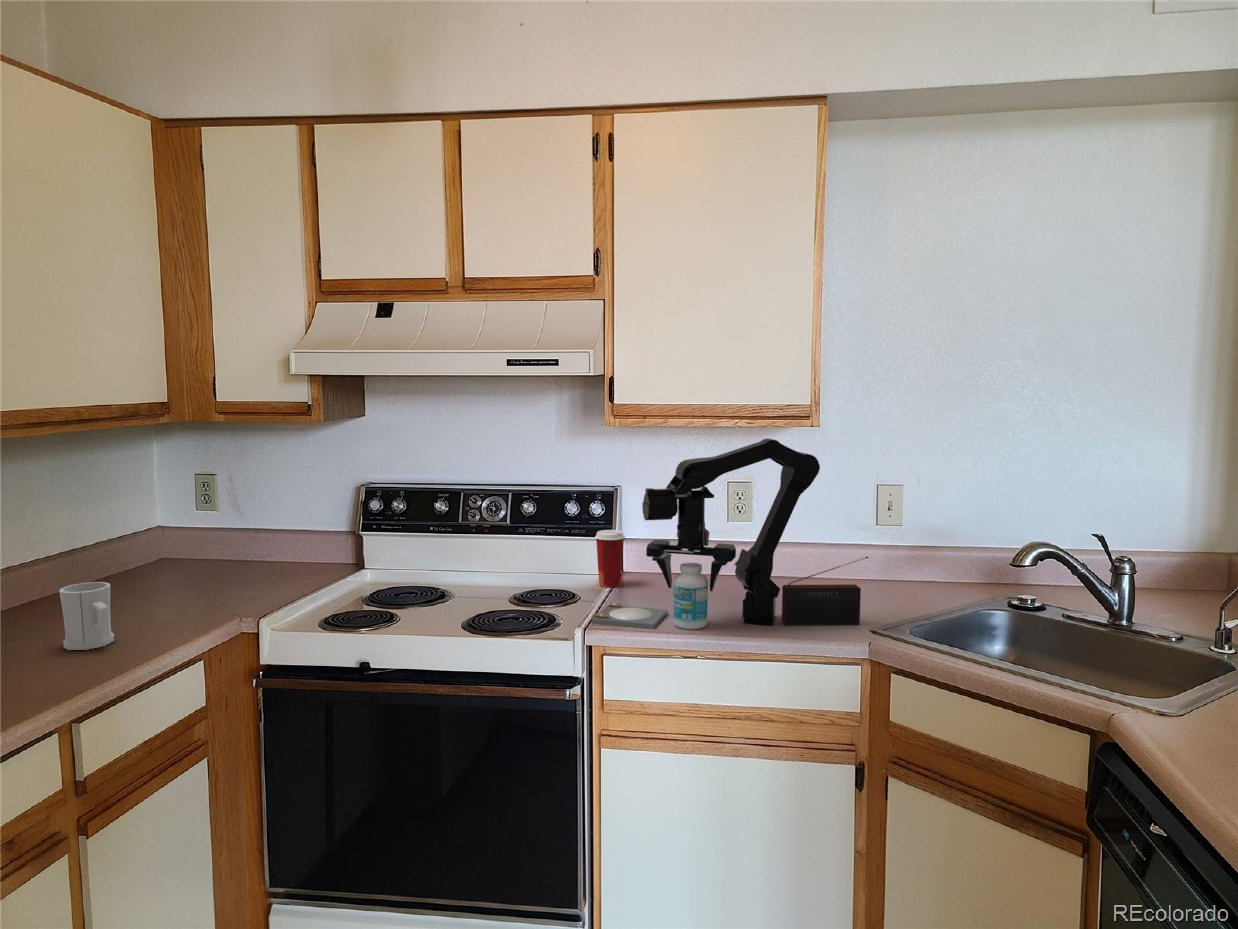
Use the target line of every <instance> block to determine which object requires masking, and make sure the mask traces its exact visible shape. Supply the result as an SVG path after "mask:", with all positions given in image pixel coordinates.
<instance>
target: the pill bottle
mask: <svg viewBox="0 0 1238 929" xmlns="http://www.w3.org/2000/svg"><path fill="white" fill-rule="evenodd" d="M679 570H680V572H679V573H678V574H677V575H675V577H673V578H674V579H673V608H672V609H673V610H672V612H673V616H672V617H673V619H672V621H673V625H675V626H676V628H679V629H683V630H699V629H704V627H706V626H707V624H708V599H709V598H708V595H709V594H708V593H709V591H708V590H709V580H708V578H707V576H706V575H704V574H703V573H702V572H703V571H702V570H703V565H702V564H701V563H698V562H684V563H681V564H680V566H679Z"/></svg>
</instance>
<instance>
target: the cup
mask: <svg viewBox="0 0 1238 929" xmlns="http://www.w3.org/2000/svg"><path fill="white" fill-rule="evenodd" d="M58 592H59V598H60V603H61V609H62V616H63V622H64V623H63V625H64V635H65V639H63V641H62V643H63V644H62V645H63V648H64V649H66V650H68V651H71V650H85V651H90V650H89V649H92V650H95V649H94V648H97V649H100V648H99V647H101V648H104V647H107V646H109V645H111V642H112V643H113V642H114V641H115V635H114V632H112V627H111V626H112V624H111V584H110V583H109V582H102V581H92V582H91V581H90V582H81V583H75V584H71V585H66V586H64V587H62V588H60V589H59V591H58ZM108 644H109V645H108ZM106 645H107V646H106ZM103 646H104V647H103Z"/></svg>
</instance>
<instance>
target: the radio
mask: <svg viewBox="0 0 1238 929" xmlns="http://www.w3.org/2000/svg"><path fill="white" fill-rule="evenodd" d="M868 558H869V556H865V557H863V558H859V559H856V560H854V561H851V562H848V563H845V564H842V565H839V566H836V567H833V568H829V569H827V570H824V571H821V572H818V573H815V574H811V575H809V576H805V577H803V578H800V579H797V580H793V581H791V582H788V584H783V585H782V587H781V590H782V592H781V593H782V594H781V623H782V624H783V626H785V627H812V626H813V627H815V626H819V627H822V626H823V627H824V626H826V627H827V626H829V627H830V626H841V627H842V626H860V623H861V621H860V620H861V598H862V597H861V590H862V589H861V587H859V586H858V585H857V584H855V583H853V584H849V583H848V584H794V583H797V582H800V581H803V580H806V579H809V578H812V577H815V576H817V575H820V574H823V573H826V572H827V573H828V572H829V571H833V570H836V569H839V568H841V567H843V566H846V565H850V564H852V563H855V562H858V561H861V560H862V561H863V560H864V559H868Z"/></svg>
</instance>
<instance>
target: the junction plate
mask: <svg viewBox="0 0 1238 929" xmlns="http://www.w3.org/2000/svg"><path fill="white" fill-rule="evenodd" d="M667 615H668V609H665V608H652V607H641V606H629V605H622V604H621V603H616V602H609V603H608V605H607V606H606V607H605V608H603V610H601V611H600V612H598V613H595V614H594V617H592V618H591V620H592V621H591V623H592V624H598V625H609V626H619V627H627V628H628V627H629V628H642V629H649V630H651V629H652V630H653V629H655V628H656V627H657V626H658V625H659V624H660V623H661V621H663V619H665V617H666V616H667Z"/></svg>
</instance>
